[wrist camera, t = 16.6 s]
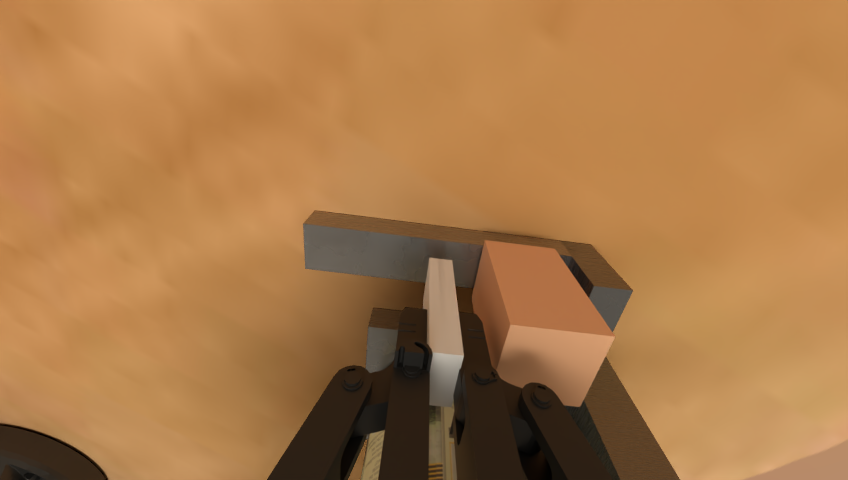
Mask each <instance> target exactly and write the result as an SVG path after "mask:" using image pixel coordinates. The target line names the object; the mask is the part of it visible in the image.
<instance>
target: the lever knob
mask: <svg viewBox="0 0 848 480" xmlns="http://www.w3.org/2000/svg"><path fill="white" fill-rule="evenodd" d="M472 304H473V310H474V314H477V316H478V317H479V318H480V320H481V321H482V323H483V327H484V332H485V337H486V341H487V346H488V351H489V355H490V360H491V365H492V367H493V368H494V369H495V370H496V371H497V372H498V374H499V376H500V378H501V379H503V380H504V381H506V382H508V383H510V384H512V385H515V386H518V387H520V388H523V387H524V386H525V385H526V384H528V383H531V382H535V383H540V384H543V385H546V386H547V387H549V388H550V389H552V390H553V391H554V392H555V394H556V395H557V396H558V397H559V399H560V400H561V402H562V403H563V405H566V406H575V407H580V406H581V404H582V402H583V400H584V398H585V396H586V394H587V392H588V390H589V388H590V386H591V384H592V382H593V380H594V378H595V376H596V374H597V372H598V370H599V368H600V366H601V364H602V362H603V360H604V358H605V356H606V354H607V352H608V350H609V348H610V346H611V344H612V342H613V340H614V339H615V335H614V334H613V332H612V331H611V330H610V328H609V327H608V325H607V324H606V322H605V321H604V319H603V318H602V316H601V315H600V314H599V312H598V311H597V309H596V308H595V306H594V305H593V303H592V302H591V300H590V299H589V298H588V296H587V295H586V293H585V292H584V290H583V289H582V287H581V286H580V284H579V283H578V282H577V280H576V279H575V277H574V276H573V274H572V273H571V271H570V270H569V268H568V267H567V266H566V264H565V263H564V261H563V260H562V258H561V257H560V255H559V254H558V252H557V251H556V250H555V249H554V248H545V247H537V246H529V245H521V244H513V243H504V242H496V241H488V240H485V241H484V246H483V250H482V254H481V259H480V263H479V268H478V272H477V276H476V281H475V285H474V289H473V294H472Z"/></svg>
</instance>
